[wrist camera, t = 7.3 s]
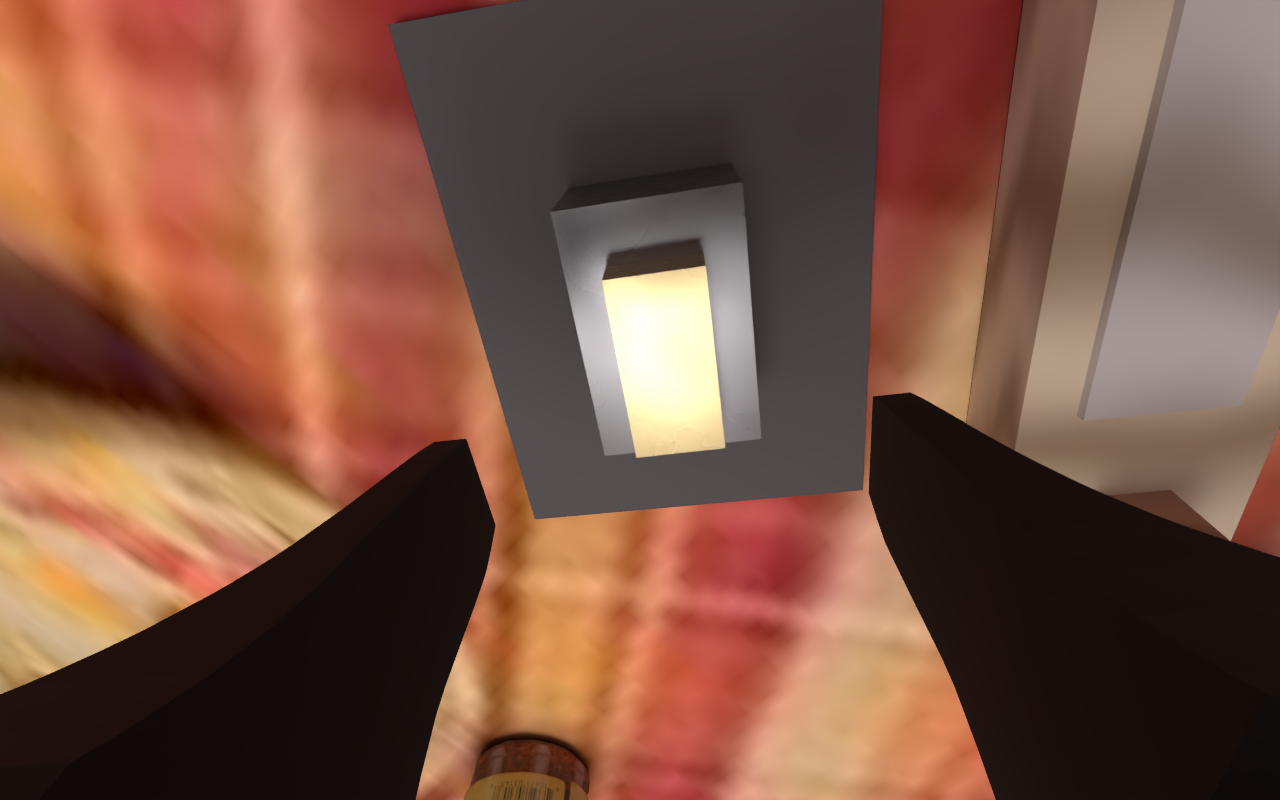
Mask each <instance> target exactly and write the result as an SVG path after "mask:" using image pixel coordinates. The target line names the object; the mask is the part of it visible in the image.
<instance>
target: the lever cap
mask: <svg viewBox="0 0 1280 800" xmlns="http://www.w3.org/2000/svg"><path fill="white" fill-rule="evenodd" d="M550 214H551V218H552V223H553V227H554V232H555V236H556V241H557V245H558V249H559V254H560V258H561V263H562V267H563V272H564V276H565V281H566V285H567V289H568V294H569V298H570V303H571V307H572V312H573V316H574V321H575V325H576V329H577V334H578V338H579V343H580V347H581V352H582V356H583V360H584V365H585V369H586V374H587V378H588V383H589V387H590V392H591V396H592V400H593V405H594V409H595V414H596V418H597V423H598V427H599V432H600V436H601V440H602V445H603V449H604V454H605V456H609V455H618V454H627V453H636V458H639V457H648V456H657V455H667V454H676V453H685V452H694V451H704V450H713V449H722V448H725V443H728V442H737V441H746V440H755V439H761V427H760V413H759V400H758V386H757V372H756V358H755V345H754V331H753V317H752V303H751V289H750V276H749V262H748V248H747V234H746V221H745V207H744V193H743V182H742V180H741V178H740V177H739V175H738V173H737V172H736V170H735V168H734V167H733V165H732V163H731V162H728V163H722V164H715V165H709V166H703V167H697V168H690V169H684V170H678V171H672V172H665V173H659V174H653V175H647V176H641V177H634V178H628V179H622V180H616V181H609V182H603V183H597V184H591V185H584V186H578V187H572V188H568V189H567V190H566V192H565V193H564V194H563V196H562V197H561V198H560V200H559V201H558V202H557V204H556V205H555V206H554V208H553V209H552V210H551V211H550Z"/></svg>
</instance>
